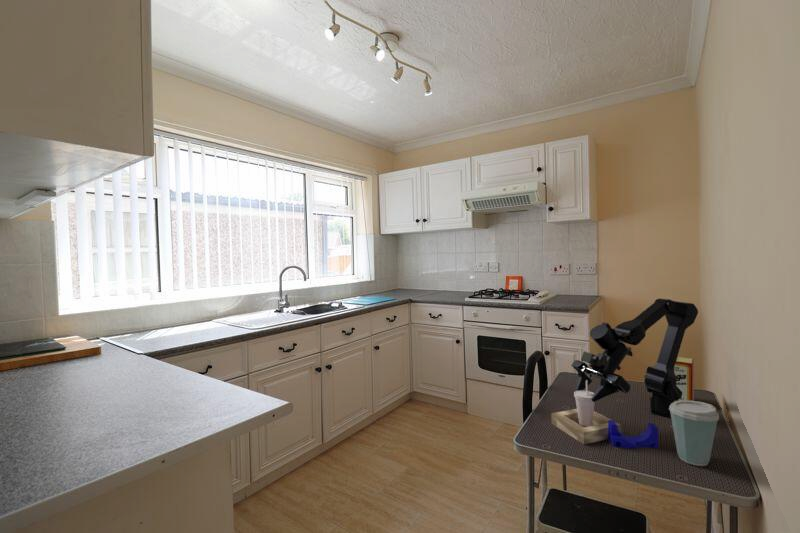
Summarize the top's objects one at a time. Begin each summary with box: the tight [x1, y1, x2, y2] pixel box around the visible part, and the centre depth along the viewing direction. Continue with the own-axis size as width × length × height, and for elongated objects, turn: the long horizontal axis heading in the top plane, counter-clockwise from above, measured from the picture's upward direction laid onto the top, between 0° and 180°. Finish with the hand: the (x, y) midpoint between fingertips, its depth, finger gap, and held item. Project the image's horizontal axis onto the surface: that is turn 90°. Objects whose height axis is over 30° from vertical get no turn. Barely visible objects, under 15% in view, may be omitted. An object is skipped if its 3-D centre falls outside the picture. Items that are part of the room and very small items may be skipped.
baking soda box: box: [674, 356, 695, 401], centre depth 138 cm, size 10×6×16 cm
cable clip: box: [607, 419, 659, 450], centre depth 109 cm, size 12×4×6 cm, turn 76°
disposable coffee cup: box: [669, 400, 720, 467], centre depth 101 cm, size 11×11×15 cm
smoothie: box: [573, 380, 596, 427], centre depth 119 cm, size 6×6×14 cm
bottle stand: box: [550, 408, 622, 445], centre depth 119 cm, size 14×14×4 cm
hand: (584, 396), depth 119 cm, fingers closed on smoothie, 6 cm apart
